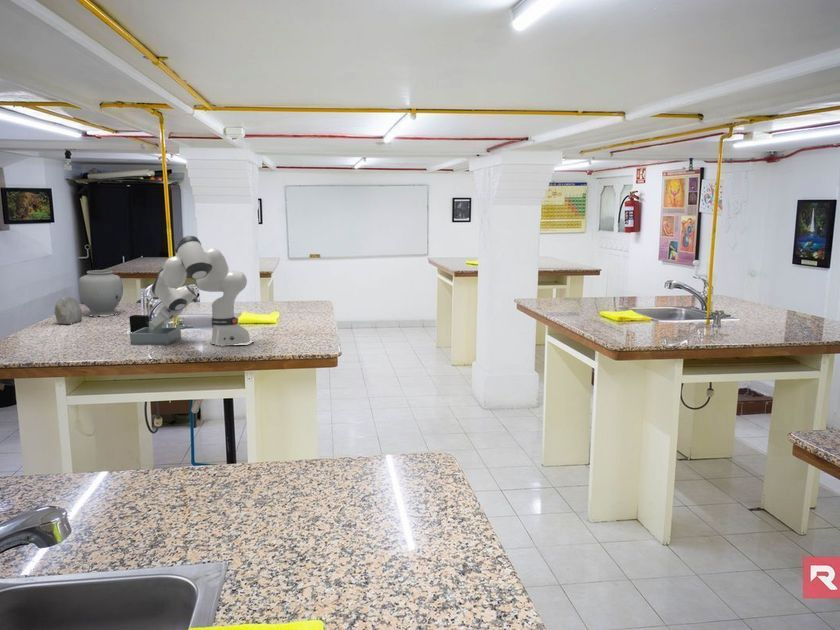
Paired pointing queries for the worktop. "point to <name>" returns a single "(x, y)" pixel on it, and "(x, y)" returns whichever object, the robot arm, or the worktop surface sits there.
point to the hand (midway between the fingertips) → (154, 328)
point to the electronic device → (138, 322)
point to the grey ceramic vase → (100, 291)
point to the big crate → (155, 336)
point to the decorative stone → (67, 311)
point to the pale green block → (157, 329)
